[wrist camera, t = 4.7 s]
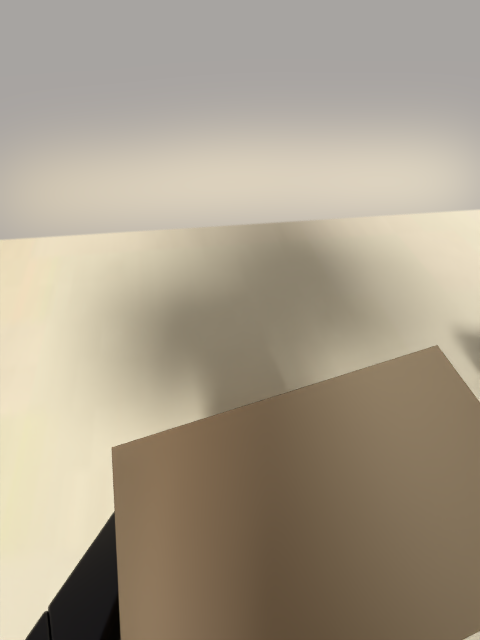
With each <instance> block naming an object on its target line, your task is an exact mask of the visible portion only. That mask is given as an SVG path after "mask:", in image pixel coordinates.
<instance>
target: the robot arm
mask: <svg viewBox="0 0 480 640" xmlns="http://www.w3.org/2000/svg"><path fill="white" fill-rule="evenodd" d="M25 640H121V633H120V612H119V591H118V570H117V550H116V529H115V511H114V513H113V514H112V516H111V517H110V518H109V520H108V521H107V523H106V524H105V526H104V527H103V528H102V530H101V531H100V533H99V534H98V536H97V537H96V539H95V540H94V541H93V543H92V544H91V546H90V547H89V549H88V550H87V551H86V553H85V554H84V556H83V557H82V559H81V560H80V562H79V563H78V564H77V566H76V567H75V569H74V570H73V572H72V573H71V574H70V576H69V577H68V579H67V580H66V582H65V583H64V585H63V586H62V587H61V589H60V590H59V592H58V593H57V595H56V596H55V597H54V599H53V600H52V602H51V603H50V605H49V607H48V611H45V612H44V613H43V614H42V616H41V617H40V619H39V620H38V622H37V623H36V625H35V626H34V627H33V629H32V630H31V632H30V633H29V635H28V636H27V637H26V639H25Z"/></svg>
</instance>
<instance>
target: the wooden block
mask: <svg viewBox="0 0 480 640" xmlns="http://www.w3.org/2000/svg"><path fill="white" fill-rule="evenodd" d="M112 466H113V487H114V508H115V529H116V550H117V570H118V591H119V612H120V633H121V640H463V639H465V638H467V637H469V636H471V635H473V634H475V633H477V632H479V631H480V402H479V401H478V399H477V398H476V397H475V395H474V394H473V393H472V391H471V390H470V389H469V387H468V386H467V385H466V383H465V382H464V381H463V379H462V378H461V377H460V375H459V374H458V372H457V371H456V370H455V368H454V367H453V366H452V364H451V363H450V362H449V360H448V359H447V358H446V356H445V355H444V354H443V352H442V351H441V350H440V348H439V347H438V345H436V346H433V347H430V348H427V349H423V350H420V351H417V352H414V353H411V354H408V355H404V356H401V357H398V358H395V359H392V360H389V361H385V362H382V363H379V364H376V365H373V366H369V367H366V368H363V369H360V370H357V371H354V372H350V373H347V374H344V375H341V376H338V377H334V378H331V379H328V380H325V381H322V382H319V383H315V384H312V385H309V386H306V387H303V388H299V389H296V390H293V391H290V392H287V393H284V394H280V395H277V396H274V397H271V398H268V399H265V400H261V401H258V402H255V403H252V404H249V405H245V406H242V407H239V408H236V409H233V410H230V411H226V412H223V413H220V414H217V415H214V416H210V417H207V418H204V419H201V420H198V421H195V422H191V423H188V424H185V425H182V426H179V427H175V428H172V429H169V430H166V431H163V432H160V433H156V434H153V435H150V436H147V437H144V438H141V439H137V440H134V441H131V442H128V443H125V444H121V445H118V446H115V447H112Z"/></svg>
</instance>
